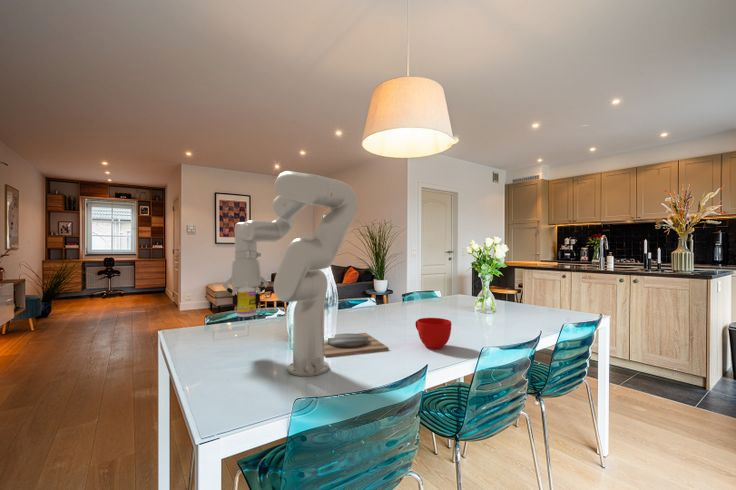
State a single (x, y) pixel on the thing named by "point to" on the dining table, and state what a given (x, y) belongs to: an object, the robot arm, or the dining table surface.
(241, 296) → the supplement bottle
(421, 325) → the ceramic cup
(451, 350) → the dining table surface
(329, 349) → the mount board
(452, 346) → the dining table surface
